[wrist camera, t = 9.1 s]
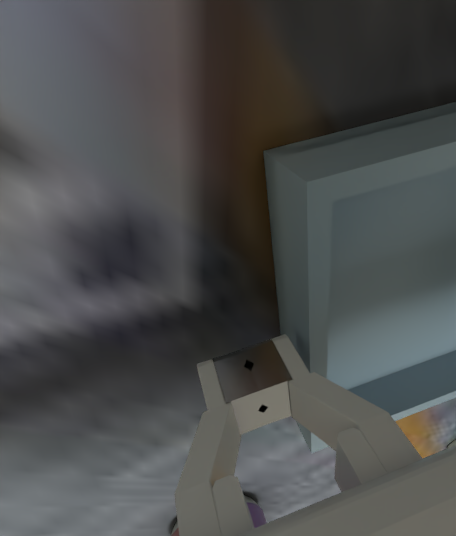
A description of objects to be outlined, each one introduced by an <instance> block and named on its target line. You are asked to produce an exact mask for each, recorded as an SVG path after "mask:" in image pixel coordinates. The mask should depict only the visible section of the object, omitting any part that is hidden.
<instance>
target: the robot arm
mask: <svg viewBox="0 0 456 536" xmlns="http://www.w3.org/2000/svg"><path fill="white" fill-rule="evenodd" d="M213 362H214V363H213ZM197 370H198V374H199V378H200V382H201V386H202V390H203V394H204V398H205V402H206V406H207V411H205V412H203V414H202V417H201V420H200V422H199V425H198V428H197V431H196V434H195V437H194V440H193V443H192V445H191V448H190V451H189V454H188V457H187V460H186V463H185V466H184V468H183V471H182V474H181V477H180V480H179V483H178V486H177V489H176V491H175V494H174V495H175V504H176V512H177V520H178V528H179V536H456V445H455V446H452V447H450V448H448V449H445V450H443V451H440V452H438V453H435V454H433V455H431V456H428V457H426V458H423V459H422V457H421V456H420V455H419V453H418V452H417V451H416V449H415V448H414V447H413V445H412V444H411V443H410V441H409V440H408V439H407V437H406V436H405V434H404V433H403V432H402V430H401V429H400V428H399V426H398V425H397V424H396V422H395V421H394V420H393V418H392V417H391V416H390V414H389V413H388V412H387V411H385V410H383V409H381V408H379V407H377V406H376V405H374V404H372V403H370V402H368V401H366V400H365V399H363V398H361V397H359V396H357V395H355V394H354V393H352V392H350V391H348V390H346V389H345V388H343V387H341V386H339V385H337V384H335V383H334V382H332V381H330V380H328V379H326V378H324V377H323V376H321V375H319V374H317V373H315V372H313V373H310V372H309V371H308V369H307V367H306V366H305V364H304V362H303V361H302V359H301V357H300V356H299V354H298V352H297V351H296V349H295V347H294V346H293V344H292V342H291V341H290V339H289V337H288V336H287V335H286V334H284V335H281V336H278V337H275V338H272V339H268V340H265V341H263V342H260V343H257V344H254V345H251V346H249V347H246V348H243V349H242V350H239V351H236V352H232V353H229V354H226V355H223V356H219V357H216V358H213V360H212V359H210V360H207V361H204V362H201V363H198V364H197ZM216 372H217V373H216ZM290 416H292V418H294V419H295V420H296V421H298V422H299V423H300V424H301V425H303V426H304V427H305V428H307V429H308V430H309V431H310V432H312V433H313V434H314V435H316V436H317V437H318V438H319V439H321V440H322V441H323V442H325V443H326V444H327V445H328V446H330V447H331V448H332V449H334V450H335V451H336V464H335V480H336V482H337V484H338V486H339V488H340V490H341V493H339V494H336V495H334V496H332V497H329V498H327V499H324V500H322V501H319V502H317V503H315V504H312V505H310V506H307V507H305V508H303V509H300V510H298V511H295V512H293V513H290V514H288V515H286V516H283V517H281V518H278V519H276V520H274V521H271V522H269V523H266V524H264V525H261V526H259V527H257V528H255V527H254V524H253V521H252V517H251V514H250V511H249V508H248V505H247V503H246V500H245V497H244V494H243V491H242V489H241V486H240V483H239V480H238V478H237V477H235V476H234V472H235V467H236V461H237V456H238V451H239V446H240V441H241V435H242V434H244V433H247V432H249V431H252V430H254V429H257V428H259V427H261V426H264V425H266V424H269V423H272V422H275V421H278V420H281V419H284V418H287V417H290Z"/></svg>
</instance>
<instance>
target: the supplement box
mask: <svg viewBox="0 0 456 536" xmlns="http://www.w3.org/2000/svg"><path fill="white" fill-rule="evenodd" d="M455 445H456V439H455V440H454V441H453V442H452V443H451V444H449V446H448V447H447V448H450V447H452V446H455Z"/></svg>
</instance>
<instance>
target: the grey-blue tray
mask: <svg viewBox="0 0 456 536" xmlns="http://www.w3.org/2000/svg"><path fill="white" fill-rule="evenodd" d="M263 153H264V163H265V174H266V185H267V195H268V206H269V217H270V227H271V238H272V249H273V259H274V270H275V280H276V291H277V302H278V312H279V323H280V334H281V335H284V334H286V335H287V336H288V337H289V339H290V341H291V342H292V344H293V346H294V347H295V349H296V351H297V352H298V354H299V356H300V357H301V359H302V361H303V362H304V364H305V366H306V367H307V369H308V371H309V372H310V373H313V372H315V373H317V374H319V375H321V376H323V377H324V378H326V379H328V380H330V381H332V382H334V383H335V384H337V385H339V386H341V387H343V388H345V389H346V390H348V391H350V392H352V393H354V394H355V395H357V396H359V397H361V398H363V399H365V400H366V401H368V402H370V403H372V404H374V405H376V406H377V407H379V408H381V409H383V410H385V411H387V412H388V413H389V414H390V416H391V417H392V418H393V420H394V421H396V420H399V419H401V418H404V417H406V416H409V415H412V414H414V413H417V412H419V411H422V410H424V409H427V408H430V407H432V406H435V405H437V404H440V403H442V402H445V401H448V400H450V399H453V398H455V397H456V102H453V103H449V104H445V105H442V106H438V107H434V108H430V109H426V110H422V111H418V112H414V113H410V114H406V115H402V116H398V117H394V118H390V119H387V120H383V121H379V122H375V123H371V124H367V125H363V126H359V127H355V128H351V129H347V130H343V131H339V132H335V133H332V134H328V135H324V136H320V137H316V138H312V139H308V140H304V141H300V142H296V143H292V144H288V145H284V146H280V147H277V148H273V149H269V150H265V151H263ZM296 422H297V424H298V426H299V428H300V430H301V432H302V435H303V437H304V439H305V441H306V443H307V445H308V447H309V449H310V451H311V453H314V452H316V451H319V450H321V449H324V448H327V447H329V446H328V445H327V444H326V443H325V442H323V441H322V440H321V439H319V438H318V437H317V436H316V435H314V434H313V433H312V432H310V431H309V430H308V429H307V428H305V427H304V426H303V425H301V424H300V423H299V422H298V421H296Z"/></svg>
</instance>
